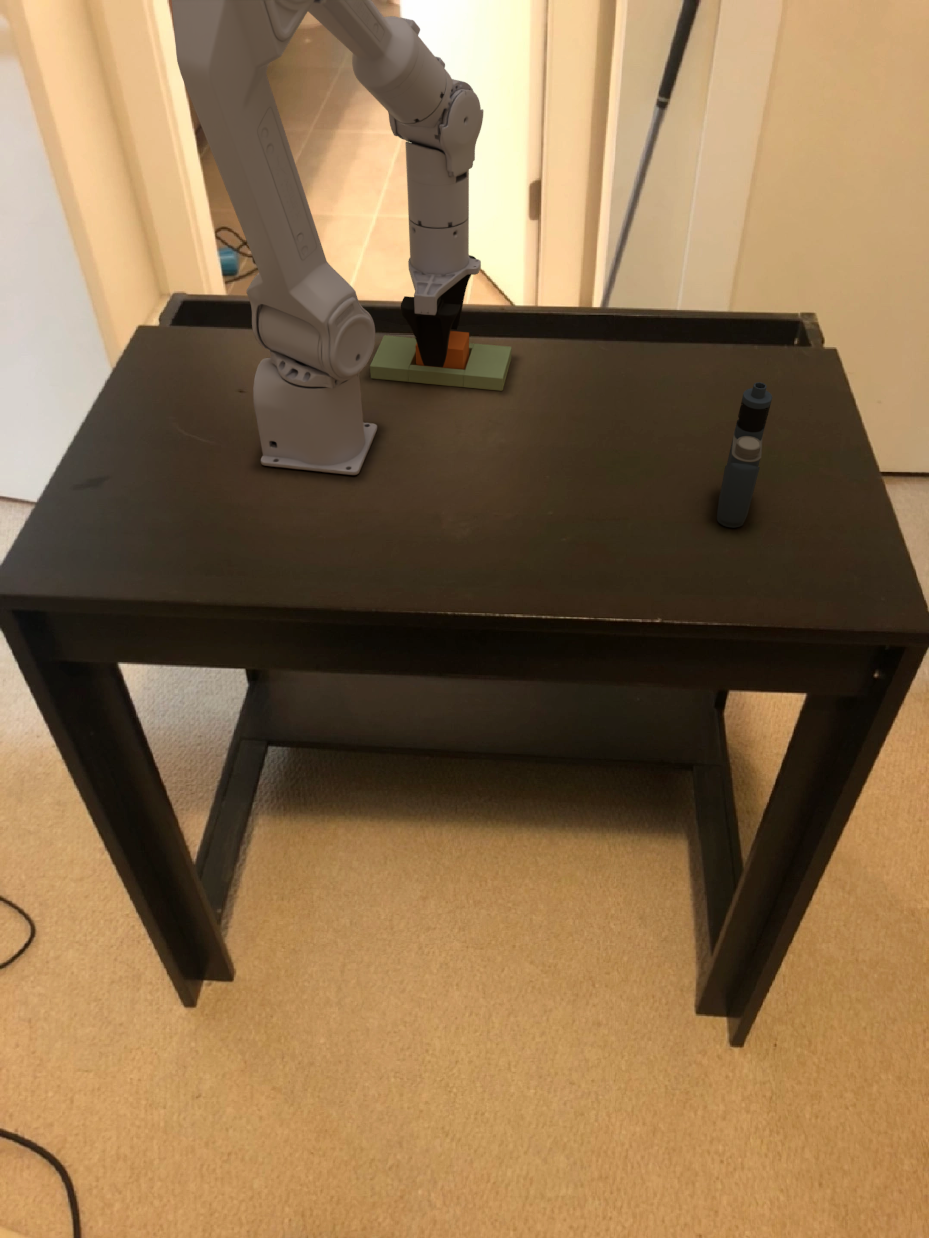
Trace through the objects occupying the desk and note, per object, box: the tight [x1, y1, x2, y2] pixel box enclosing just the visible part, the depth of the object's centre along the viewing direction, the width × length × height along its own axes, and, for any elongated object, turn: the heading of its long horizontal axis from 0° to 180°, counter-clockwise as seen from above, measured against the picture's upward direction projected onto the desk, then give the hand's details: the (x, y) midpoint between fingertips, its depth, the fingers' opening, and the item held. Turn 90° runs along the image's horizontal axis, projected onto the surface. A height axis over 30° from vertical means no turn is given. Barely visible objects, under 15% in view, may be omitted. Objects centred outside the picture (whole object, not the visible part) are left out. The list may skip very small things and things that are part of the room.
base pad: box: [369, 334, 513, 392], centre depth 104 cm, size 14×6×2 cm, turn 80°
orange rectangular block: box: [416, 330, 470, 370], centre depth 103 cm, size 5×4×4 cm
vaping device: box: [716, 381, 773, 529], centre depth 83 cm, size 3×5×12 cm, turn 166°
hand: (441, 345), depth 102 cm, fingers open, 7 cm apart
